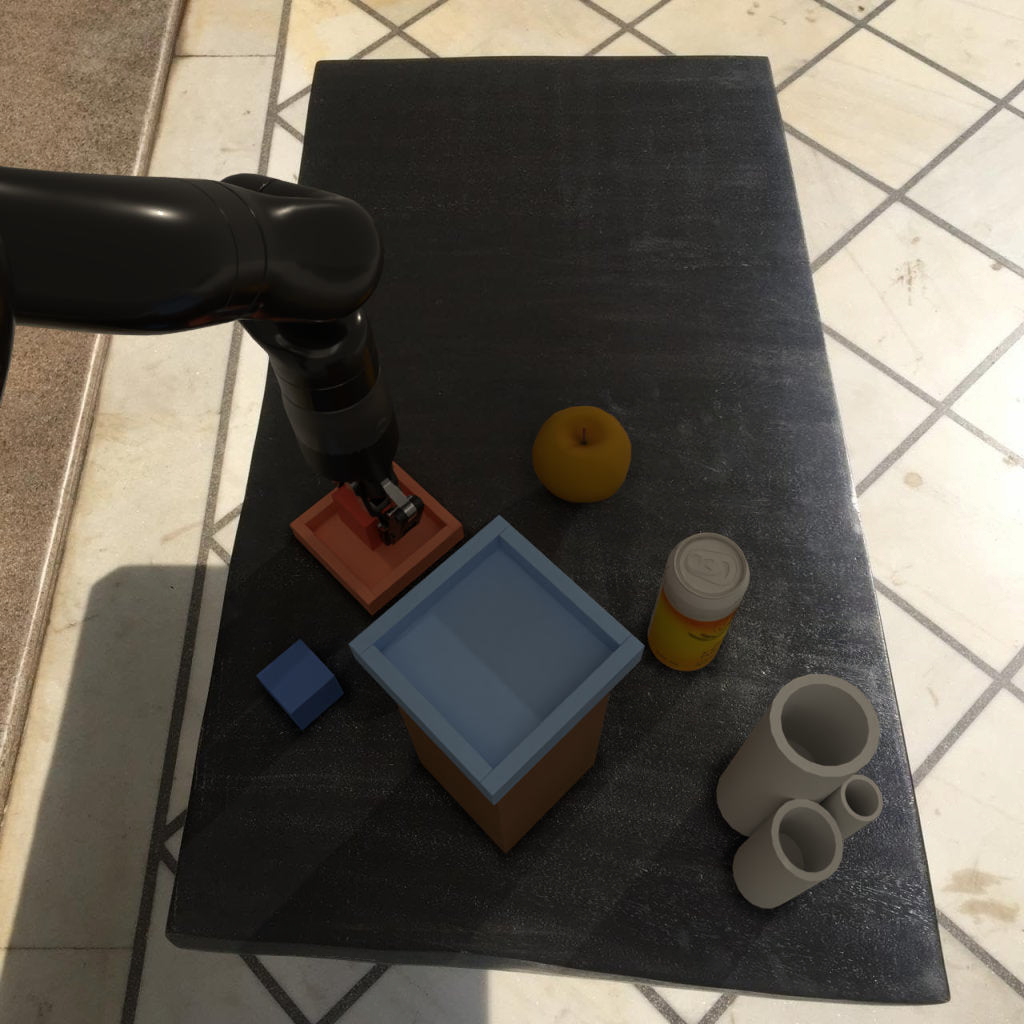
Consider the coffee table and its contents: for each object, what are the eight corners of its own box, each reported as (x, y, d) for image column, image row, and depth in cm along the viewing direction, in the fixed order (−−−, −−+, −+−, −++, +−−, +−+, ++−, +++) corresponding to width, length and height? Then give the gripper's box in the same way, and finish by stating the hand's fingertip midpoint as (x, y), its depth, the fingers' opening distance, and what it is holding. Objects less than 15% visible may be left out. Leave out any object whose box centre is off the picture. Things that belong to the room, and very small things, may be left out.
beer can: (708, 683, 81) (742, 614, 68) (638, 661, 82) (658, 589, 69) (724, 619, 84) (760, 540, 71) (656, 599, 85) (679, 518, 72)
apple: (635, 520, 89) (645, 469, 81) (538, 531, 88) (539, 481, 81) (618, 438, 93) (626, 382, 85) (526, 448, 93) (525, 393, 85)
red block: (372, 551, 84) (364, 528, 80) (340, 519, 86) (330, 494, 82) (411, 519, 86) (405, 494, 82) (378, 488, 87) (371, 462, 84)
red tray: (372, 615, 85) (368, 605, 83) (294, 536, 89) (289, 524, 87) (464, 537, 88) (462, 524, 86) (386, 464, 92) (382, 450, 90)
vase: (706, 763, 78) (756, 681, 60) (794, 750, 78) (868, 665, 61) (742, 913, 73) (808, 870, 55) (835, 898, 73) (930, 851, 55)
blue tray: (505, 873, 74) (492, 796, 51) (402, 761, 79) (347, 643, 55) (612, 763, 78) (645, 645, 55) (508, 662, 82) (499, 514, 59)
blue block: (302, 730, 80) (290, 714, 76) (269, 693, 82) (255, 675, 78) (344, 693, 81) (334, 675, 77) (311, 657, 83) (299, 638, 79)
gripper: (241, 382, 72) (291, 495, 87) (364, 500, 67) (395, 599, 82) (319, 325, 74) (356, 445, 89) (444, 436, 69) (460, 543, 84)
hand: (374, 518), depth 86 cm, fingers closed on red block, 4 cm apart
